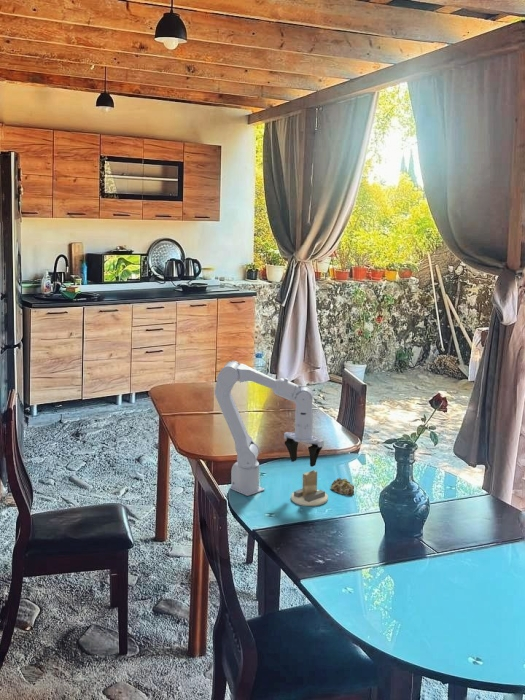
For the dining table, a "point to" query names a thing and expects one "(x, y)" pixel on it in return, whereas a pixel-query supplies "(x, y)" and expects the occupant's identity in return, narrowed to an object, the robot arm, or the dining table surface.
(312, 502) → the clip base
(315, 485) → the wooden block
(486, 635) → the dining table surface
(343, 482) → the mineral rock
